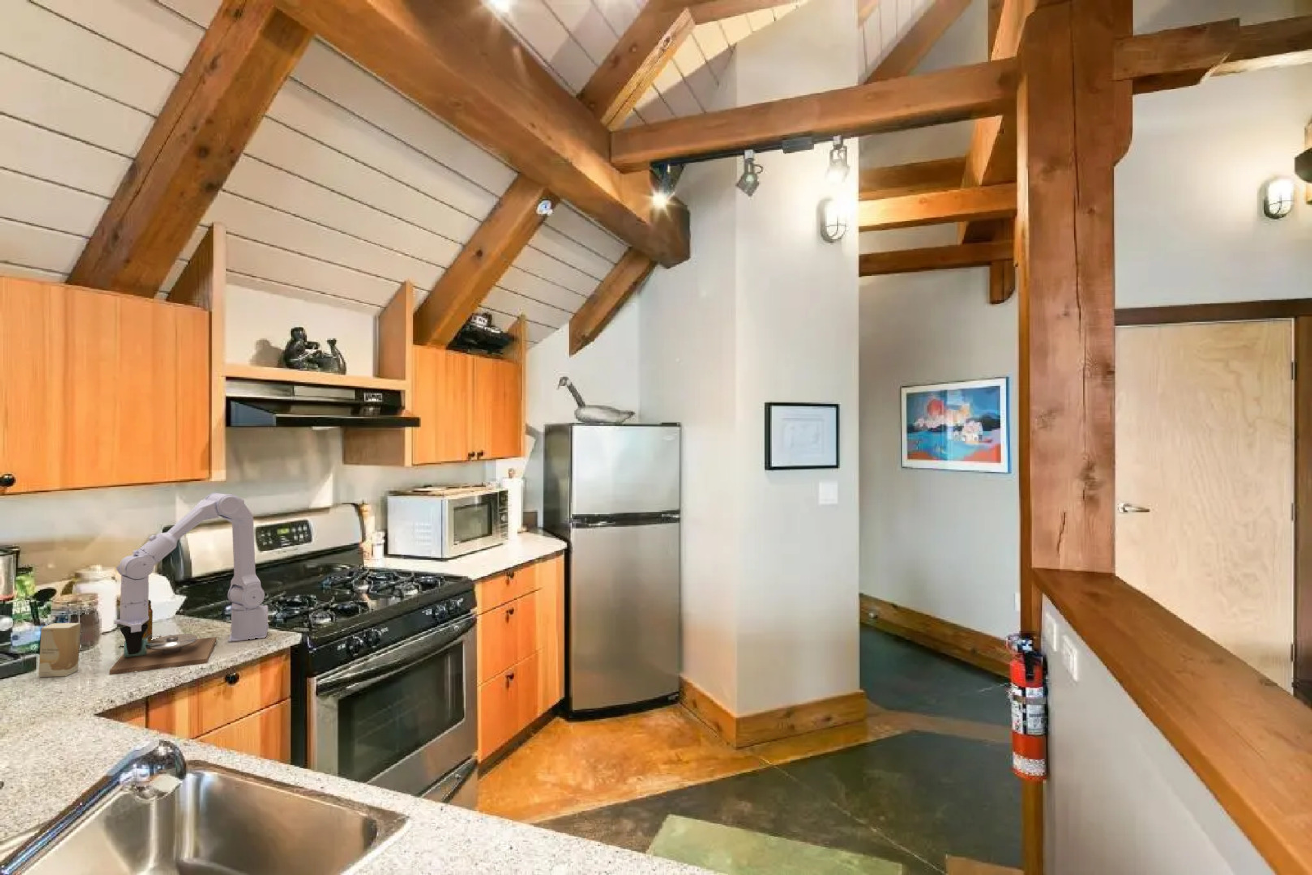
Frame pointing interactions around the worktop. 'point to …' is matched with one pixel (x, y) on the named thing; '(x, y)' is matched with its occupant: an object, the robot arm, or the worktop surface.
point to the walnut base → (166, 657)
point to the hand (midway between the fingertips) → (133, 653)
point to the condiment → (149, 623)
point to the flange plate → (163, 643)
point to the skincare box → (59, 649)
